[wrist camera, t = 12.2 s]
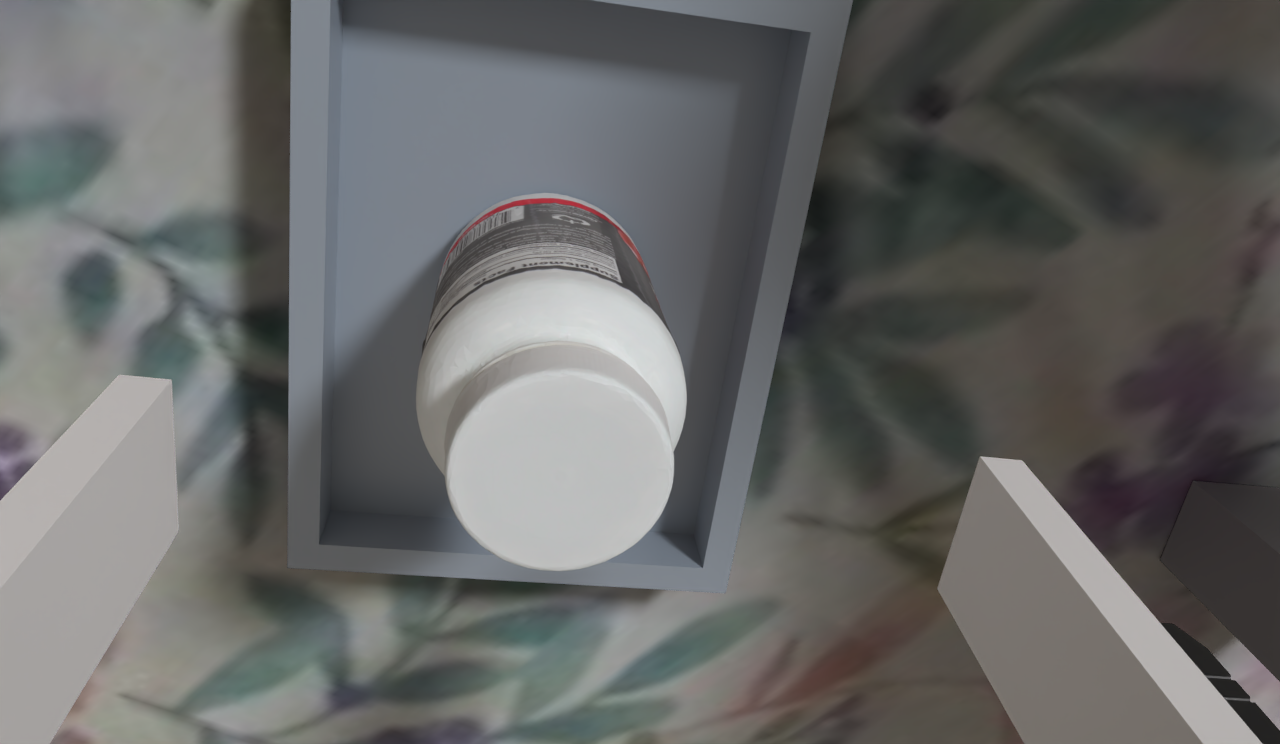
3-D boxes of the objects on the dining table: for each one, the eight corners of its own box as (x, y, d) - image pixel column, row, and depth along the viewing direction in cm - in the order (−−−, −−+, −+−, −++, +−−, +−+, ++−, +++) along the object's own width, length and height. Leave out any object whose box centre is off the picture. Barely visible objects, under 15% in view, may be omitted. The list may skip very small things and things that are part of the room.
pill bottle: (652, 375, 27) (716, 591, 19) (453, 393, 27) (422, 623, 18) (642, 179, 25) (710, 317, 16) (426, 195, 25) (375, 346, 16)
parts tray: (314, -86, 23) (291, -86, 20) (822, -8, 25) (853, 0, 22) (306, 517, 29) (287, 567, 27) (711, 543, 31) (725, 593, 29)
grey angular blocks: (1198, 467, 32) (1373, 610, 25) (1365, 481, 32) (1577, 622, 26) (1061, 798, 37) (1175, 986, 31) (1207, 802, 38) (1349, 986, 31)
